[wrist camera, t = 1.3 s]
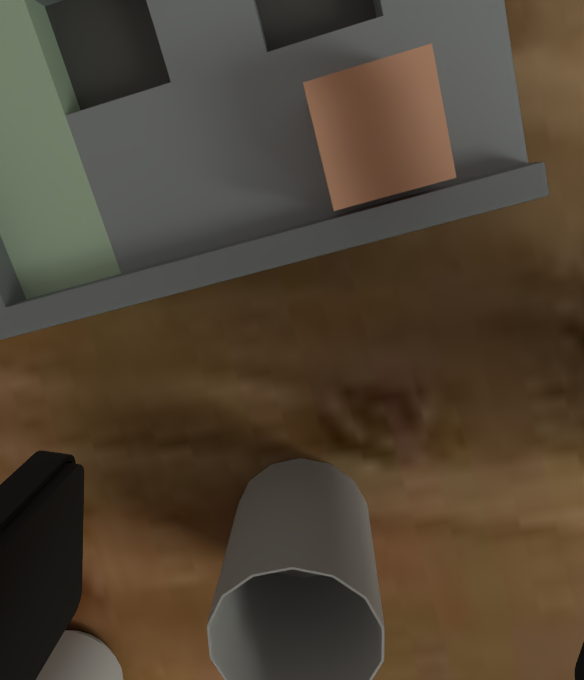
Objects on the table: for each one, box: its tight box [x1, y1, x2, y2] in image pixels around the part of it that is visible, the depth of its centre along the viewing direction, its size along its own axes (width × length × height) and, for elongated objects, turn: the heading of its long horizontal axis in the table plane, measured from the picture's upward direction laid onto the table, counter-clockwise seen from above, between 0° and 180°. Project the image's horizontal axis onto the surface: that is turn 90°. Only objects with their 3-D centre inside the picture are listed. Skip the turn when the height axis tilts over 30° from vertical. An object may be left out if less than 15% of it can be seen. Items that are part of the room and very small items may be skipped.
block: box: [303, 43, 456, 211], centre depth 24 cm, size 5×5×5 cm
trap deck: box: [0, 0, 549, 340], centre depth 26 cm, size 28×16×4 cm, turn 105°
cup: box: [207, 458, 384, 680], centre depth 30 cm, size 8×8×10 cm
